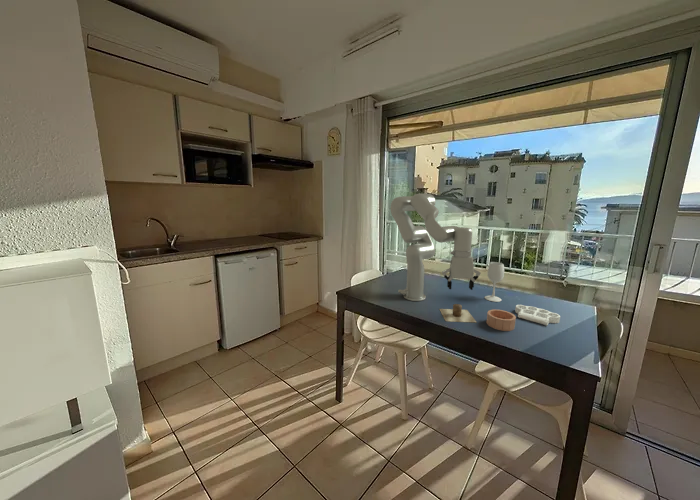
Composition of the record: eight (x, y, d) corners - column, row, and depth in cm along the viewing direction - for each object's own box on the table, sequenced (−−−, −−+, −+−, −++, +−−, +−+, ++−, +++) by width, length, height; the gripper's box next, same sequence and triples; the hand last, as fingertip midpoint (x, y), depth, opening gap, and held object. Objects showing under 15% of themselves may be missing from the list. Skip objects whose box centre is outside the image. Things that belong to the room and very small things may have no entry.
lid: (445, 322, 125) (446, 311, 124) (439, 310, 139) (439, 299, 137) (476, 323, 123) (477, 312, 122) (466, 311, 137) (467, 300, 136)
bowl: (492, 330, 116) (493, 319, 115) (483, 318, 127) (484, 309, 126) (519, 331, 115) (520, 320, 114) (507, 319, 126) (508, 310, 125)
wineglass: (495, 303, 145) (499, 266, 141) (481, 297, 153) (484, 262, 149) (505, 300, 149) (509, 264, 145) (490, 295, 157) (494, 260, 153)
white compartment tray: (509, 316, 130) (518, 308, 140) (555, 329, 117) (561, 319, 127) (510, 310, 129) (519, 302, 139) (556, 322, 117) (562, 312, 127)
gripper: (444, 255, 122) (443, 291, 125) (484, 255, 120) (481, 291, 123) (441, 252, 129) (439, 286, 132) (478, 252, 127) (476, 286, 130)
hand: (460, 288), depth 128 cm, fingers open, 9 cm apart
